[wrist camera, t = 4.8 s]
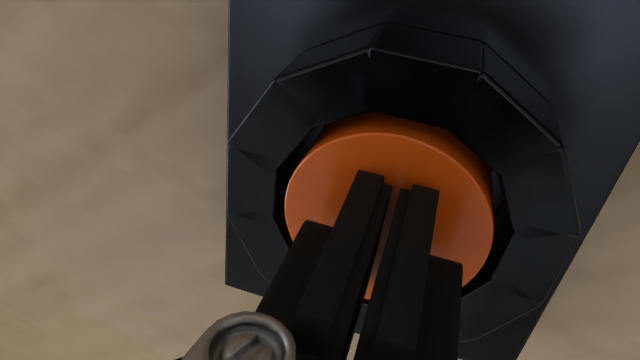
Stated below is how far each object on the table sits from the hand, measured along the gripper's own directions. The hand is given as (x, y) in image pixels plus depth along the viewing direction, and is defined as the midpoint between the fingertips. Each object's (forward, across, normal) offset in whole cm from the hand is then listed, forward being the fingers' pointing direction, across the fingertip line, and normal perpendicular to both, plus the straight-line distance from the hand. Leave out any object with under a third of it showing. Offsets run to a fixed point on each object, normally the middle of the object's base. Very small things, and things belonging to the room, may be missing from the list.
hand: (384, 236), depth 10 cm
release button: (+2, 0, 0) cm, 2 cm away
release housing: (+4, 0, 0) cm, 4 cm away
